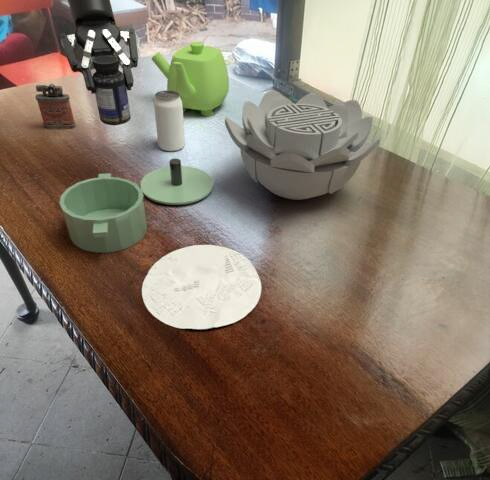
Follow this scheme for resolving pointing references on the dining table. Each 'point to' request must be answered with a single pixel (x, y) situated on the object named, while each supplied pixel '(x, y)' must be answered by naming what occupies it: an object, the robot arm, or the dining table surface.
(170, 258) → the plaque
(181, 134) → the can
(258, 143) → the decorative bowl
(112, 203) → the pot
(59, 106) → the lighter
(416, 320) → the dining table surface
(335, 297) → the dining table surface
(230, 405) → the dining table surface
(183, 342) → the dining table surface
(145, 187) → the lid
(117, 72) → the pill bottle
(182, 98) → the teapot
